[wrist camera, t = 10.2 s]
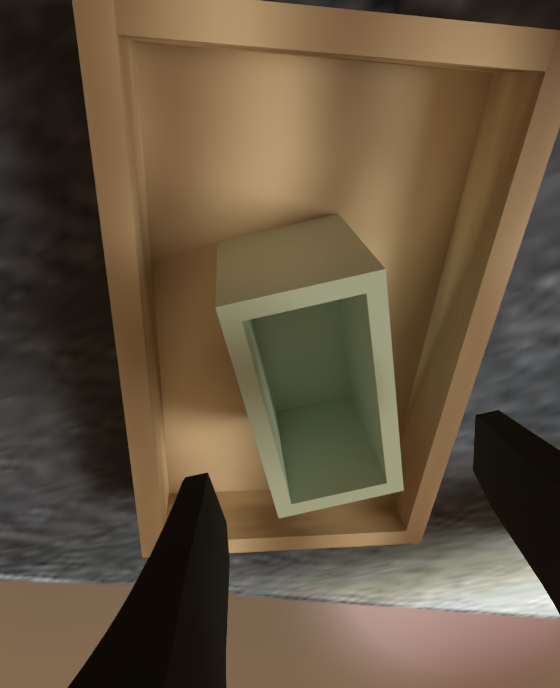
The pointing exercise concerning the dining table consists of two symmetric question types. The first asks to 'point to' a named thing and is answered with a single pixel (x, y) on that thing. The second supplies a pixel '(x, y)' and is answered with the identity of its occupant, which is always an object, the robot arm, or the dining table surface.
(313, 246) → the small crate
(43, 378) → the dining table surface
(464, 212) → the pine crate
